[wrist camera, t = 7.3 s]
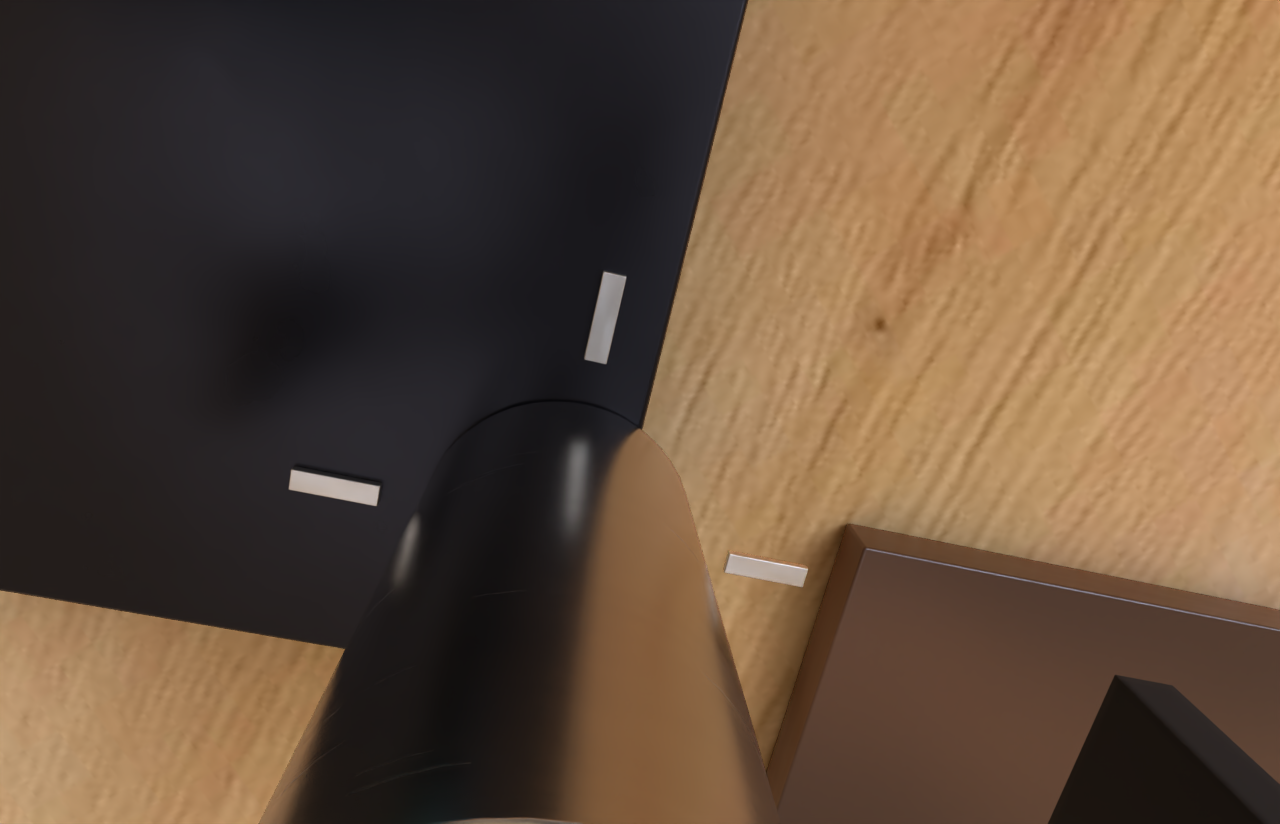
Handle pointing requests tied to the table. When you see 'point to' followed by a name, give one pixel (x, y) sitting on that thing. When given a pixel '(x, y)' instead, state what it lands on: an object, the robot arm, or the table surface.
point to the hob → (320, 274)
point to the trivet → (994, 681)
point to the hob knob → (537, 650)
